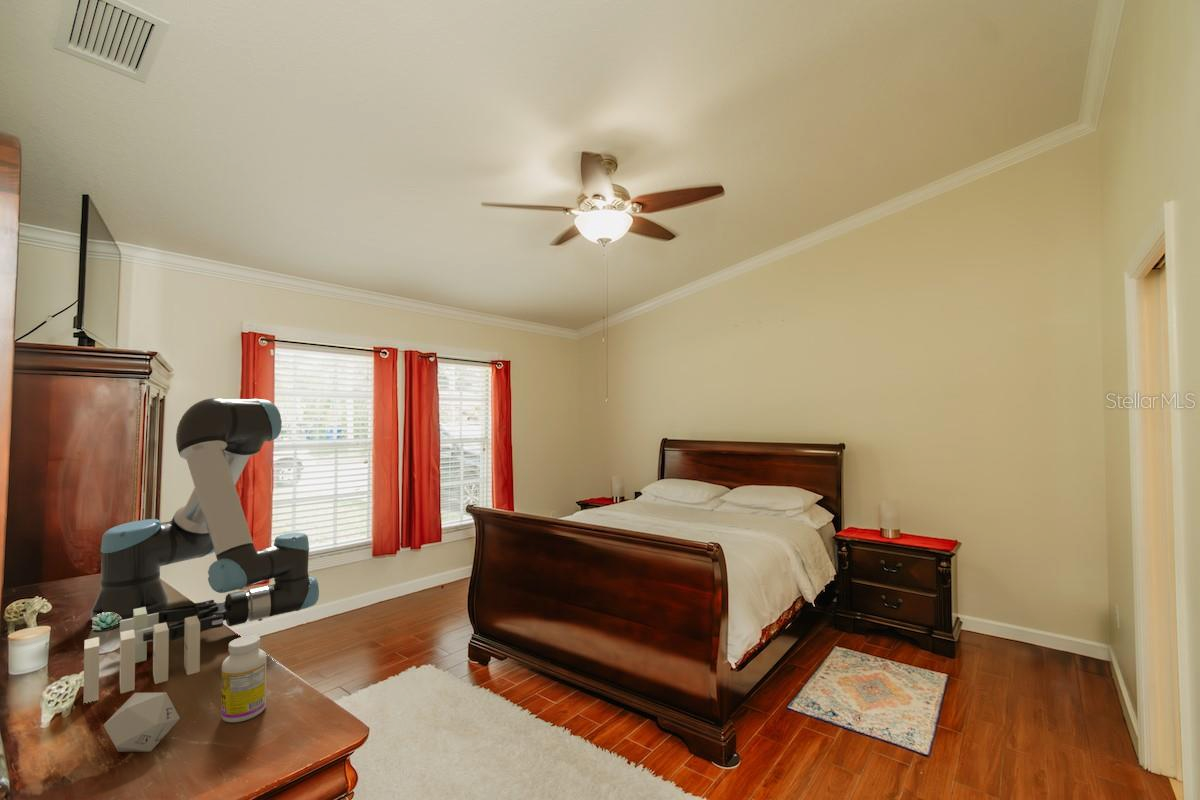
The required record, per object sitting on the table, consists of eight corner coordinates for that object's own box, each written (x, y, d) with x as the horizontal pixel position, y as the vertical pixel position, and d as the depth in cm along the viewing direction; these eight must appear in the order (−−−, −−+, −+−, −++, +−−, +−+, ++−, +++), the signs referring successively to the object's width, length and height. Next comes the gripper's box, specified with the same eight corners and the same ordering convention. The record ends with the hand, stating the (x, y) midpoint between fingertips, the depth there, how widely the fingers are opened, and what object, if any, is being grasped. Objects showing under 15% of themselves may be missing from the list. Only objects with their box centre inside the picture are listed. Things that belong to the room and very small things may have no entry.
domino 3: (144, 652, 116) (145, 606, 117) (146, 660, 113) (147, 613, 113) (132, 655, 115) (133, 609, 115) (133, 663, 111) (134, 615, 111)
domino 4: (196, 662, 112) (196, 615, 112) (199, 671, 108) (200, 622, 108) (184, 666, 110) (184, 618, 110) (187, 675, 106) (187, 625, 107)
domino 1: (98, 689, 101) (99, 636, 101) (98, 699, 97) (99, 645, 98) (83, 692, 100) (84, 640, 100) (83, 704, 96) (84, 649, 96)
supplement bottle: (227, 706, 95) (228, 635, 95) (270, 699, 97) (270, 630, 98) (215, 728, 89) (216, 651, 89) (261, 719, 91) (261, 645, 91)
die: (114, 776, 78) (165, 712, 81) (76, 741, 80) (127, 680, 83) (157, 761, 86) (202, 703, 89) (121, 729, 87) (166, 674, 90)
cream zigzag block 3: (165, 670, 108) (166, 622, 108) (168, 680, 104) (168, 629, 104) (152, 674, 107) (153, 624, 107) (154, 684, 103) (155, 632, 103)
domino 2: (133, 679, 105) (133, 629, 105) (134, 689, 101) (135, 637, 101) (119, 683, 103) (120, 632, 103) (120, 693, 99) (121, 640, 100)
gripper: (256, 635, 120) (122, 669, 104) (237, 609, 135) (118, 635, 119) (256, 602, 120) (122, 631, 104) (238, 580, 135) (119, 602, 120)
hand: (120, 633), depth 112 cm, fingers open, 9 cm apart
